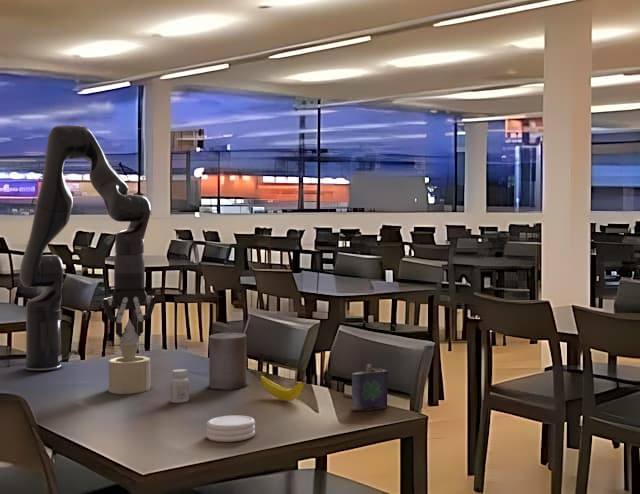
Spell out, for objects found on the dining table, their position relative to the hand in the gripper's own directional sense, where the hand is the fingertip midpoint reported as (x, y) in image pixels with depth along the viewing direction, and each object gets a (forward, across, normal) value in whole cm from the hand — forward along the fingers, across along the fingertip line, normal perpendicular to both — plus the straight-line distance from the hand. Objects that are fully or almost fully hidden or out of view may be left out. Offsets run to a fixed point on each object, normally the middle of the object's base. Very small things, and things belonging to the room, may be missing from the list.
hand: (129, 335), depth 251 cm
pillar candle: (+14, -24, +7) cm, 29 cm away
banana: (+14, -32, +30) cm, 46 cm away
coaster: (+14, -12, +60) cm, 63 cm away
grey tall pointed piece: (+10, 0, 0) cm, 10 cm away
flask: (+14, -48, +49) cm, 70 cm away
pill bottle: (+14, -9, +20) cm, 26 cm away
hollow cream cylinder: (+14, 0, 0) cm, 14 cm away
